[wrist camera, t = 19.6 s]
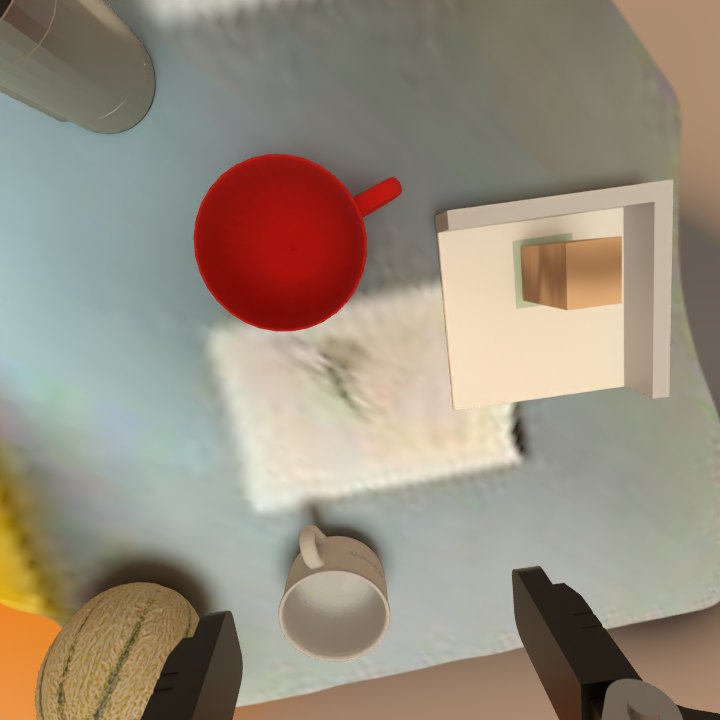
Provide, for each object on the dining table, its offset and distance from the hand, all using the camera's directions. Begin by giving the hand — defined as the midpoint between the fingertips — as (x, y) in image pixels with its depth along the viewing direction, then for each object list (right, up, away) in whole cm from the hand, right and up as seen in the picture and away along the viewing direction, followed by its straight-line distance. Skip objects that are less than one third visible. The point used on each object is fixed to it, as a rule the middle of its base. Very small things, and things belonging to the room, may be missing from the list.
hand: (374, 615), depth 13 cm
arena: (+18, +13, +33) cm, 39 cm away
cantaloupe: (-24, -21, +39) cm, 50 cm away
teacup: (-3, -15, +38) cm, 41 cm away
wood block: (+18, +16, +31) cm, 39 cm away
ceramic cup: (-5, +19, +31) cm, 36 cm away
